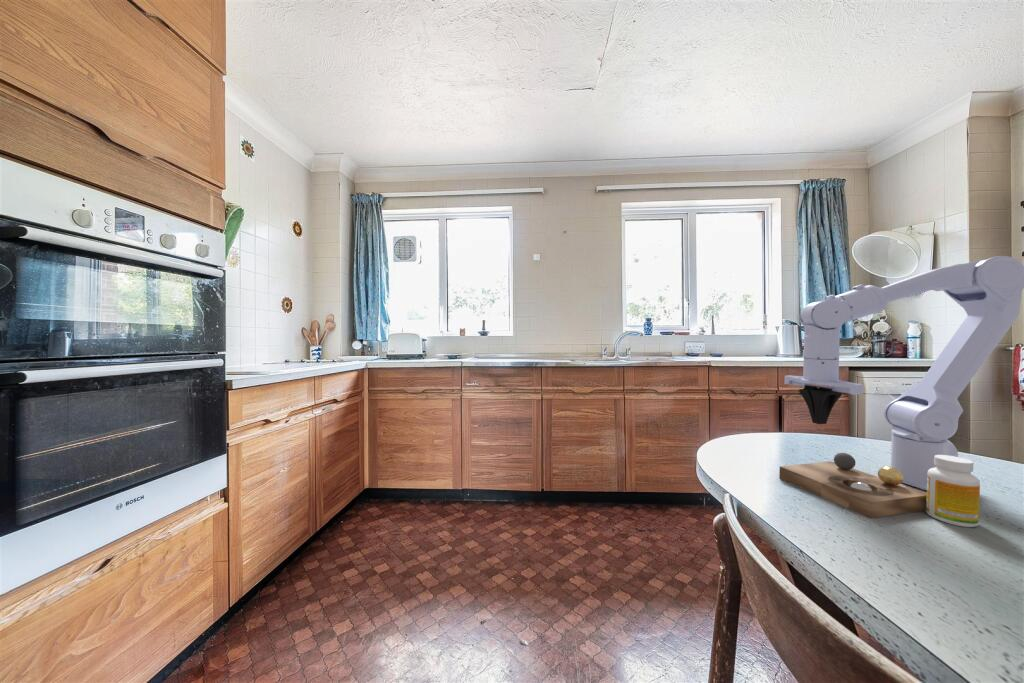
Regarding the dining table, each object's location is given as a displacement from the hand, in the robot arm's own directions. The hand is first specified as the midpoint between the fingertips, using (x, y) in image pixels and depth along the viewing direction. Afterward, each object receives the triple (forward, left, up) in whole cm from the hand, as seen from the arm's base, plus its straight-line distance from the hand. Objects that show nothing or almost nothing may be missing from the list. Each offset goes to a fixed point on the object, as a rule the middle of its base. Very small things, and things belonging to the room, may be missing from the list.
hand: (819, 423), depth 78 cm
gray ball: (0, +5, -6) cm, 8 cm away
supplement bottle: (-1, +20, -11) cm, 23 cm away
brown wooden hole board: (+5, +9, -10) cm, 14 cm away
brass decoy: (0, +13, -6) cm, 14 cm away
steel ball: (+6, +12, -9) cm, 16 cm away
